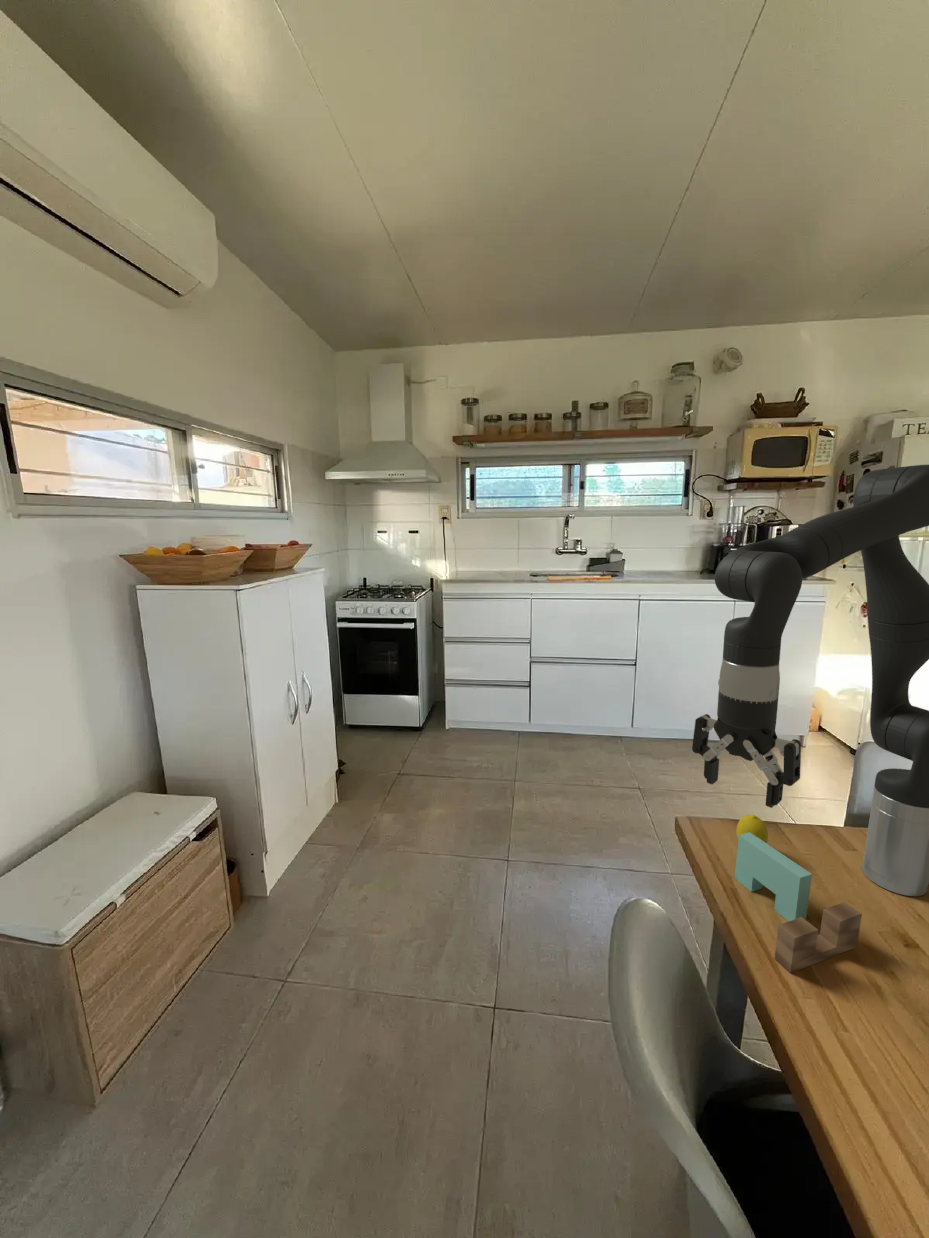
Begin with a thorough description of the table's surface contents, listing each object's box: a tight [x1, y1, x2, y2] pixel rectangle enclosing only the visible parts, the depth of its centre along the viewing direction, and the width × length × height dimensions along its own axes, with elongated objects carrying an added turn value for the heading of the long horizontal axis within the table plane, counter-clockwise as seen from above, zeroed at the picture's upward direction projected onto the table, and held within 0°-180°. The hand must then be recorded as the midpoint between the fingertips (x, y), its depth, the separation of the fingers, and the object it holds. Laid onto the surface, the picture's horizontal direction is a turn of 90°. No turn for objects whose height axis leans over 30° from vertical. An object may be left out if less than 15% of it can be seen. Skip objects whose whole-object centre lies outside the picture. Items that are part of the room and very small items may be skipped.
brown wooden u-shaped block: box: [774, 901, 863, 974], centre depth 77 cm, size 14×3×6 cm, turn 108°
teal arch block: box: [734, 832, 813, 922], centre depth 88 cm, size 12×3×9 cm, turn 18°
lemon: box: [735, 814, 769, 844], centre depth 100 cm, size 6×6×8 cm
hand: (740, 792), depth 75 cm, fingers open, 8 cm apart
